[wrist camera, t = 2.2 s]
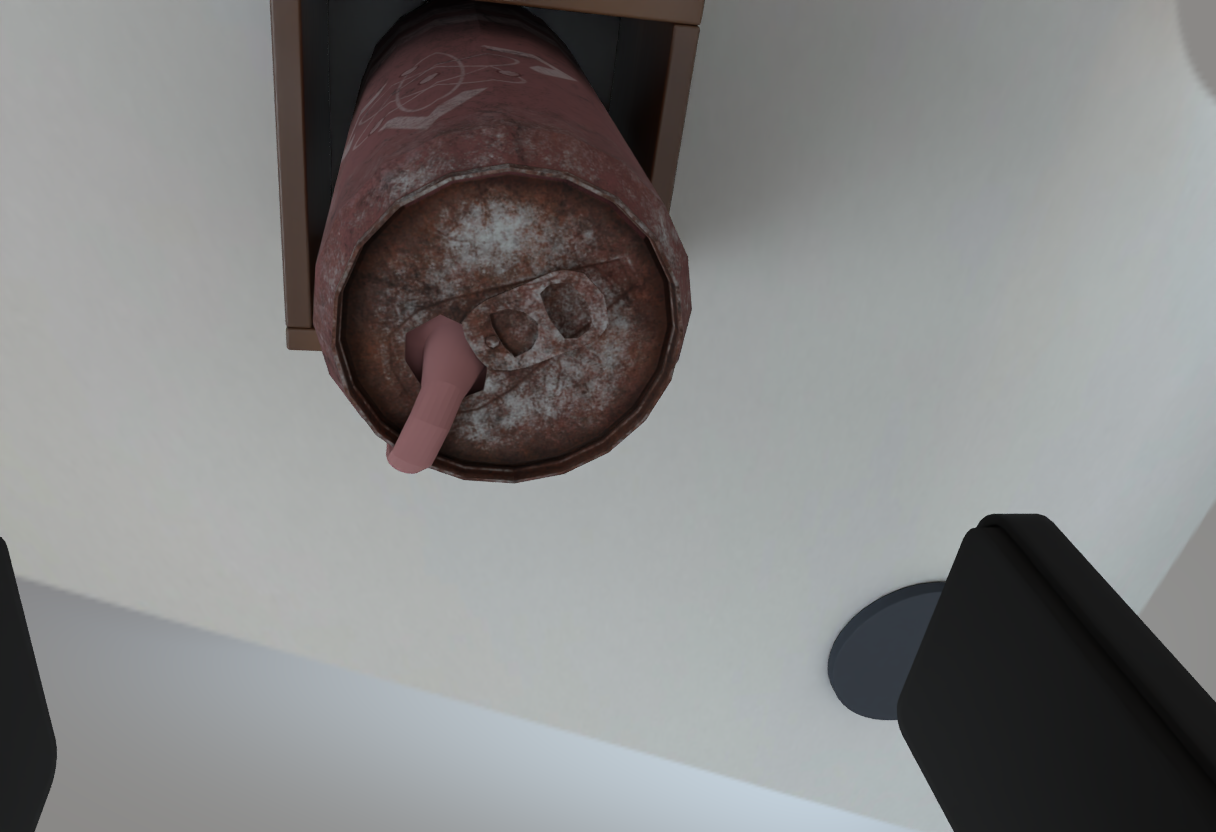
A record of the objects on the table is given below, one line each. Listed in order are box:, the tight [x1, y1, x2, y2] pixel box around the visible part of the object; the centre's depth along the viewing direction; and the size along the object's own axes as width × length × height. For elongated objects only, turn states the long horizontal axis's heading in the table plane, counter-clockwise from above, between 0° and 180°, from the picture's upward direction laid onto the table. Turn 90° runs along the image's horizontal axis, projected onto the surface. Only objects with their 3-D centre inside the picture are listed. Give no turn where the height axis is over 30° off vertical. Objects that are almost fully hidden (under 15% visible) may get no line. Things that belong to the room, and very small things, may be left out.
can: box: [313, 0, 692, 483], centre depth 21 cm, size 6×6×14 cm
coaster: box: [828, 582, 945, 720], centre depth 41 cm, size 8×8×1 cm
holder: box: [270, 0, 705, 351], centre depth 24 cm, size 9×9×6 cm
